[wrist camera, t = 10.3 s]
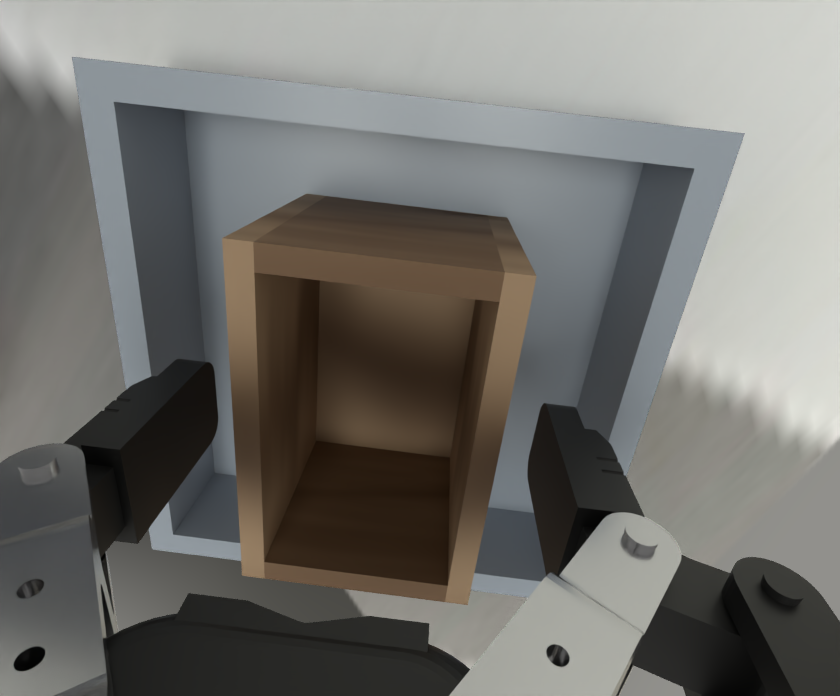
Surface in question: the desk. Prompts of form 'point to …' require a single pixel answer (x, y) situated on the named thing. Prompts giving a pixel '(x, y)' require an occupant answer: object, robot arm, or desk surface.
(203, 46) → the desk surface
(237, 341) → the walnut crate
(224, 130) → the box
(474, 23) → the desk surface
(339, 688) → the robot arm
